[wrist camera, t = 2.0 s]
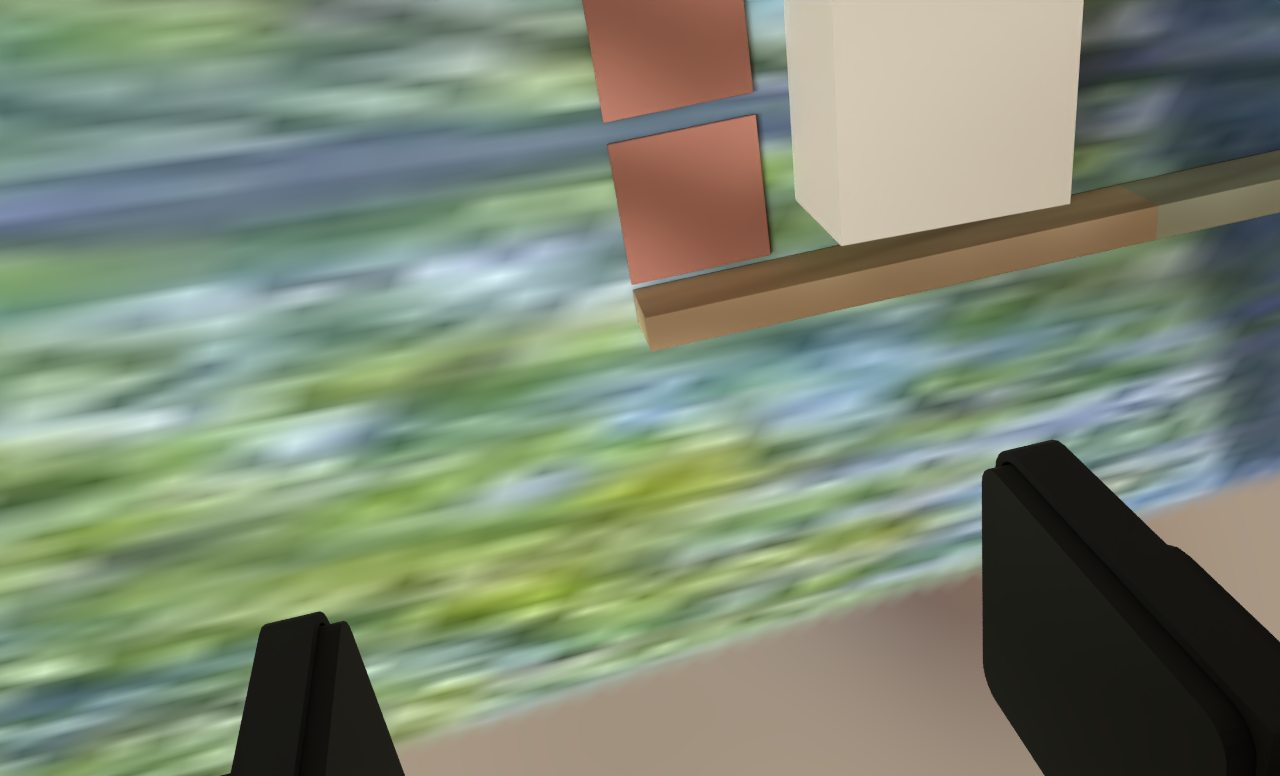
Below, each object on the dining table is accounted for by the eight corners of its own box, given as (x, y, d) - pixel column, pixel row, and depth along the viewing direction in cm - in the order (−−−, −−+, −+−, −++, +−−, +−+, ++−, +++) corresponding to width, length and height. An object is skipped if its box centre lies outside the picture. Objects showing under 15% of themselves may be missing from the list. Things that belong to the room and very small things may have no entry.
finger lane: (565, -95, 26) (578, -87, 24) (1454, -261, 28) (1543, -268, 25) (638, 321, 31) (654, 359, 29) (1380, 159, 33) (1449, 182, 31)
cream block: (779, -30, 28) (831, -8, 24) (1004, -66, 28) (1086, -50, 25) (793, 197, 30) (841, 246, 27) (997, 161, 31) (1070, 203, 27)
